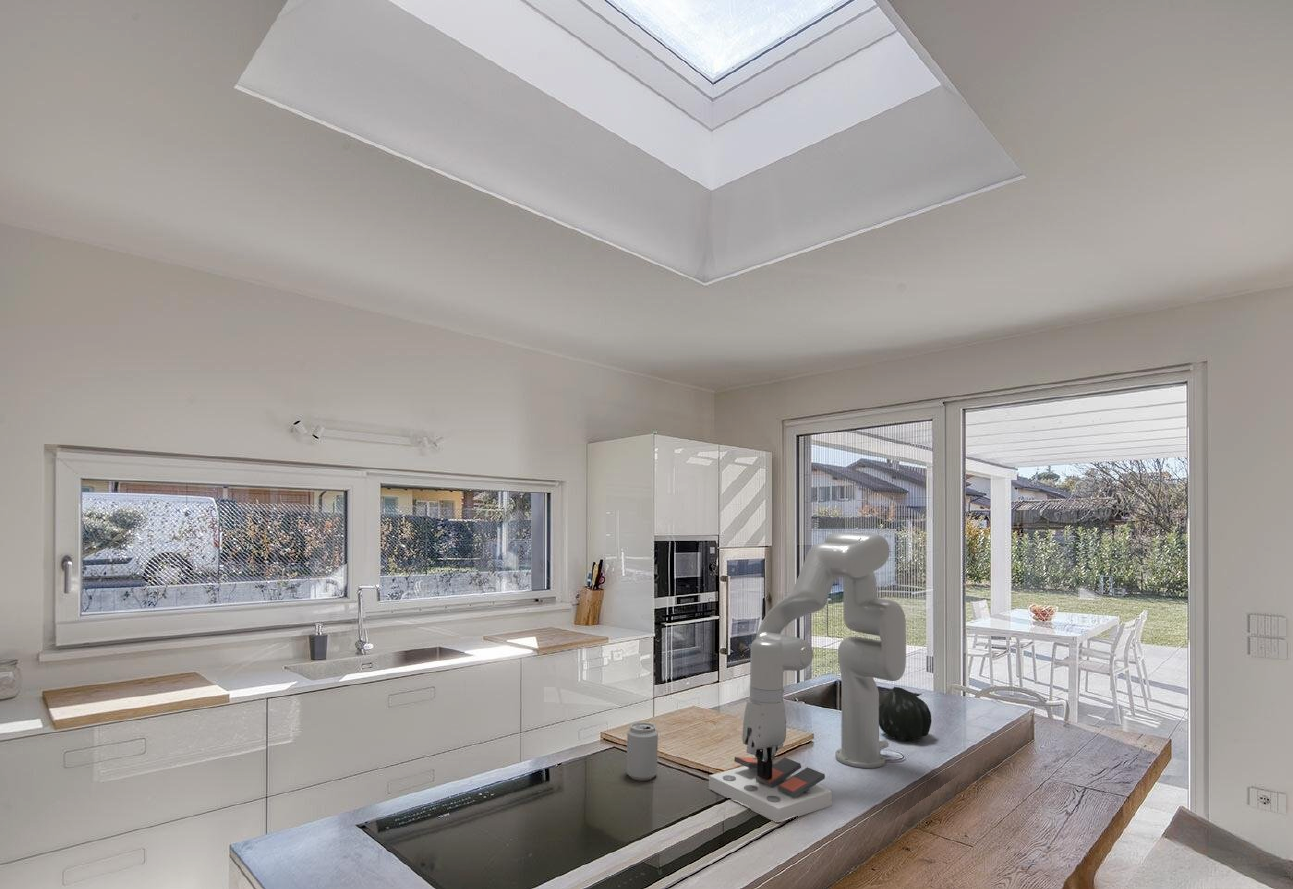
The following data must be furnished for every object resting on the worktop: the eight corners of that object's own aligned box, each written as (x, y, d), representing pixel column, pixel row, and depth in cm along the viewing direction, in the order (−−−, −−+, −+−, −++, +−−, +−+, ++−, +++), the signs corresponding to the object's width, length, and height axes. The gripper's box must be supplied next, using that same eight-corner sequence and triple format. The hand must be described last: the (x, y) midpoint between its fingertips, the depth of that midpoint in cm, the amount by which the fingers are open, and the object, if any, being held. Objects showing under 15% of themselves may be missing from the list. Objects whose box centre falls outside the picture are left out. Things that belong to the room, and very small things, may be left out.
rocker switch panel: (760, 773, 181) (761, 757, 181) (831, 805, 163) (831, 787, 163) (708, 788, 171) (709, 771, 171) (778, 823, 153) (778, 804, 153)
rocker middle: (785, 761, 174) (784, 756, 174) (801, 767, 170) (800, 762, 170) (755, 780, 168) (755, 775, 168) (771, 787, 164) (770, 782, 164)
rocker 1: (763, 762, 180) (764, 757, 180) (778, 768, 175) (779, 763, 176) (734, 761, 174) (734, 756, 174) (748, 767, 170) (749, 762, 170)
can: (653, 782, 174) (655, 731, 174) (623, 779, 175) (624, 728, 176) (659, 771, 181) (660, 721, 182) (630, 768, 182) (631, 719, 183)
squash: (948, 720, 212) (913, 674, 219) (929, 733, 201) (893, 685, 208) (913, 744, 219) (880, 699, 226) (892, 758, 207) (858, 711, 214)
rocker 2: (807, 771, 169) (807, 766, 168) (825, 778, 164) (824, 773, 164) (778, 789, 163) (777, 784, 163) (795, 797, 159) (794, 792, 159)
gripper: (777, 687, 175) (775, 766, 174) (731, 695, 167) (729, 778, 165) (800, 694, 169) (799, 776, 168) (754, 702, 161) (752, 789, 159)
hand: (764, 777), depth 166 cm, fingers closed
